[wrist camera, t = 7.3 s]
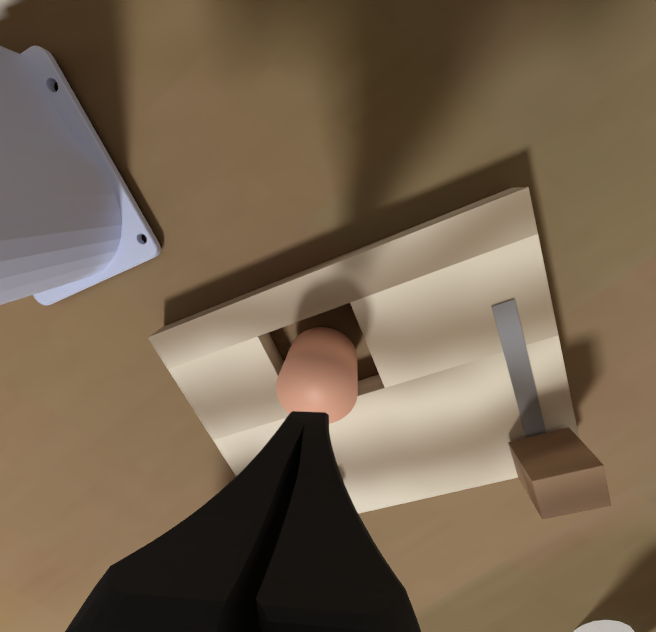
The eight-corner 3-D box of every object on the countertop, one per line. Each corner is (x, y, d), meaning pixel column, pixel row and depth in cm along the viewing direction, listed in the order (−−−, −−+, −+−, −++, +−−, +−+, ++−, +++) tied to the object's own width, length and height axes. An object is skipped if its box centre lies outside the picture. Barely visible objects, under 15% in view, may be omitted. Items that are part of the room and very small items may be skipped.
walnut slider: (508, 442, 17) (532, 481, 15) (568, 427, 17) (603, 465, 14) (517, 476, 18) (542, 519, 16) (576, 463, 17) (611, 505, 15)
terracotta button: (277, 340, 17) (262, 369, 14) (342, 317, 16) (339, 343, 13) (305, 396, 18) (296, 433, 15) (367, 376, 17) (369, 412, 15)
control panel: (163, 326, 18) (131, 348, 16) (511, 187, 15) (546, 186, 12) (277, 512, 23) (267, 553, 20) (567, 442, 19) (601, 482, 16)
